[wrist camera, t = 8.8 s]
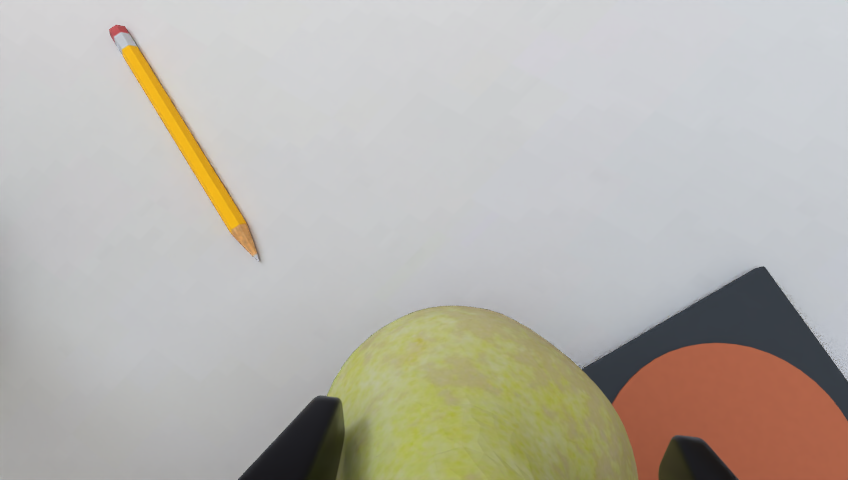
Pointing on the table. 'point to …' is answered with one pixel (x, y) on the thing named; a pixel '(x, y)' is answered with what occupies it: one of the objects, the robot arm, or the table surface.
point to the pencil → (183, 139)
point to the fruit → (473, 405)
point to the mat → (733, 387)
